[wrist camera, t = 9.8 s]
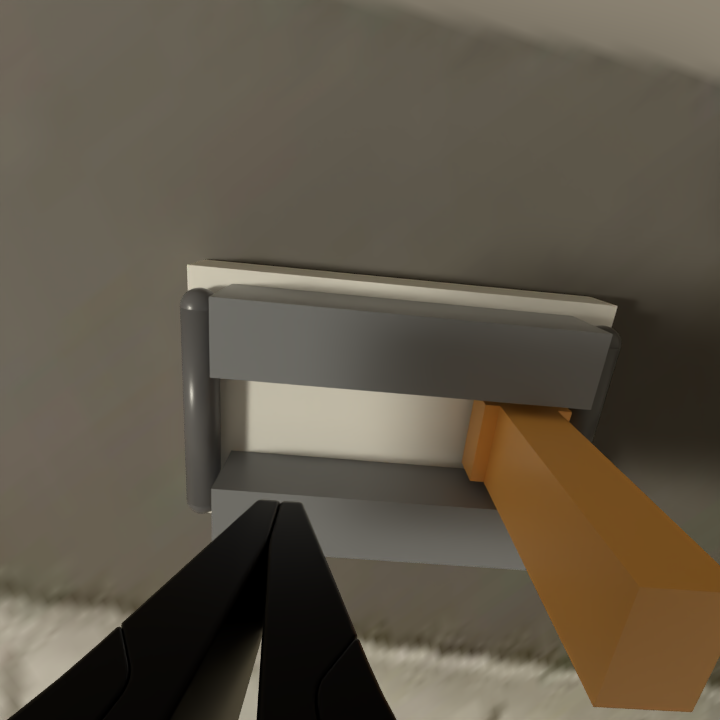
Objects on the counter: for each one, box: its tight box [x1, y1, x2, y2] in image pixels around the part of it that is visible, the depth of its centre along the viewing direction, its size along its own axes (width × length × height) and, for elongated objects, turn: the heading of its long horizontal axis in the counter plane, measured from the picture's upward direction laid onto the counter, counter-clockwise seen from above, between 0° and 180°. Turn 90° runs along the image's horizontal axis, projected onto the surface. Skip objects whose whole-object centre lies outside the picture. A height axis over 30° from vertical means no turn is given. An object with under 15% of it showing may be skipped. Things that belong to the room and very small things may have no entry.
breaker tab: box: [462, 400, 720, 712], centre depth 10 cm, size 2×2×7 cm
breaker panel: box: [180, 259, 621, 570], centre depth 13 cm, size 12×8×4 cm, turn 84°
